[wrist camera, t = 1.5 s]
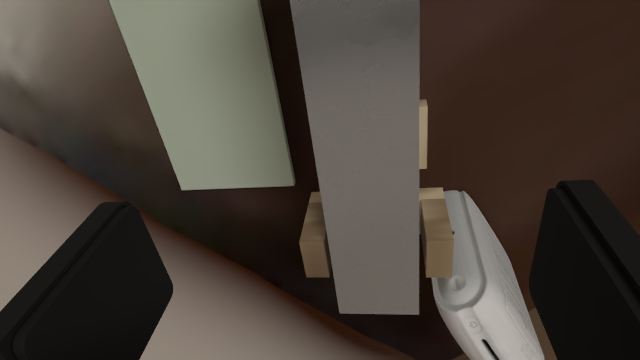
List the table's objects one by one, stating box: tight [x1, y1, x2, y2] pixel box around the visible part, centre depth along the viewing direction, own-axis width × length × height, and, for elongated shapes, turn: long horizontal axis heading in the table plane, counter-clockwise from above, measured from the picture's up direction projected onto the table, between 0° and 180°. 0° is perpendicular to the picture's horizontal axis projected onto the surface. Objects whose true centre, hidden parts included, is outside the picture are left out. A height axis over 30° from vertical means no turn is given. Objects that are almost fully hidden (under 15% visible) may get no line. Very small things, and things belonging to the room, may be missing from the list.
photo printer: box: [431, 190, 544, 360], centre depth 30 cm, size 10×4×12 cm, turn 36°
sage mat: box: [109, 0, 296, 190], centre depth 28 cm, size 10×24×1 cm, turn 8°
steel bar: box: [290, 0, 420, 315], centre depth 16 cm, size 4×22×4 cm, turn 8°
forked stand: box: [299, 99, 454, 278], centre depth 21 cm, size 7×21×13 cm, turn 8°
